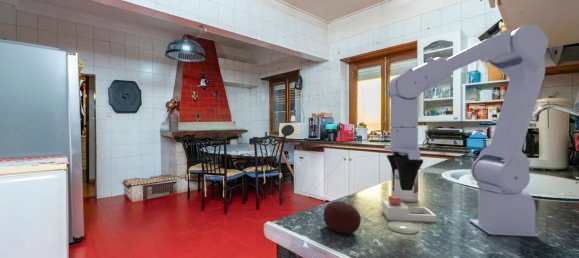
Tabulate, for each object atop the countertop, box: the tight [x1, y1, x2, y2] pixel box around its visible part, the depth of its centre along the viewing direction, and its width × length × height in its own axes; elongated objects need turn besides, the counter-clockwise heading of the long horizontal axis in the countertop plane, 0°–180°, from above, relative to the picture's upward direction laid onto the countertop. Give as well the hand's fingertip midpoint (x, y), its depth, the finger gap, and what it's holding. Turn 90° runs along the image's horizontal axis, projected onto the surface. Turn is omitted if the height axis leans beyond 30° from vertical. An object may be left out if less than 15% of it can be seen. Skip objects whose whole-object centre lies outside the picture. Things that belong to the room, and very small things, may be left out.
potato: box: [323, 200, 362, 234], centre depth 58 cm, size 7×10×6 cm
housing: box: [381, 199, 437, 223], centre depth 66 cm, size 11×6×3 cm, turn 83°
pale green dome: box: [387, 220, 420, 235], centre depth 59 cm, size 6×6×1 cm
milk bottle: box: [390, 171, 419, 203], centre depth 81 cm, size 8×8×20 cm
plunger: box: [388, 195, 402, 205], centre depth 67 cm, size 3×3×4 cm
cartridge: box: [394, 169, 414, 199], centre depth 59 cm, size 4×4×6 cm
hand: (403, 187), depth 59 cm, fingers closed on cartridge, 4 cm apart
